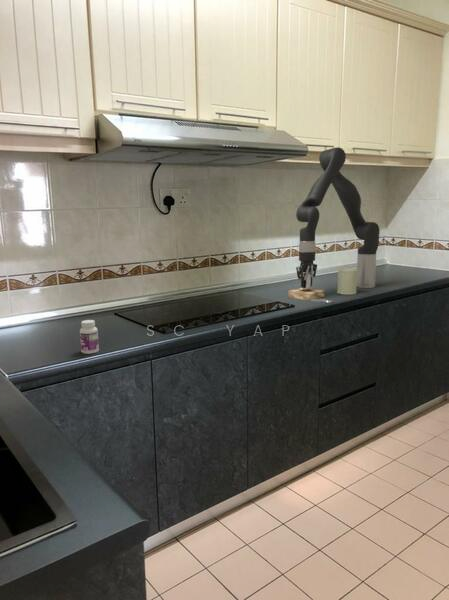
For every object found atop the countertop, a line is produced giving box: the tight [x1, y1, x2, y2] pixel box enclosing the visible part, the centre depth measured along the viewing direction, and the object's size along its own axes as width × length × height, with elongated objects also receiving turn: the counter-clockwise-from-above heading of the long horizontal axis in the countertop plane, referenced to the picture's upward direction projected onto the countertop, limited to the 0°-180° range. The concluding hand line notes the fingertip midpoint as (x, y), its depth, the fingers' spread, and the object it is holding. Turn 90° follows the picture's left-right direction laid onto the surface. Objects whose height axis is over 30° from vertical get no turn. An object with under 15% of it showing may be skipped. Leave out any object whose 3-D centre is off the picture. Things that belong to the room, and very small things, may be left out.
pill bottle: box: [79, 319, 100, 355], centre depth 149 cm, size 5×5×10 cm
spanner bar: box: [310, 298, 333, 304], centre depth 216 cm, size 11×3×1 cm, turn 45°
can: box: [336, 267, 357, 296], centre depth 235 cm, size 9×9×12 cm
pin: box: [303, 273, 312, 292], centre depth 226 cm, size 4×4×11 cm
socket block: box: [287, 287, 325, 301], centre depth 227 cm, size 12×12×3 cm
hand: (306, 286), depth 227 cm, fingers open, 4 cm apart
